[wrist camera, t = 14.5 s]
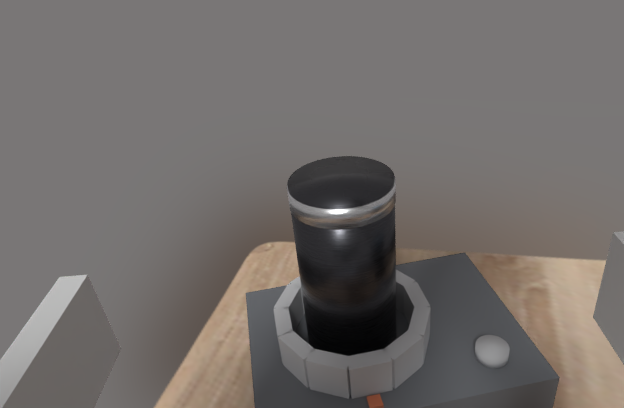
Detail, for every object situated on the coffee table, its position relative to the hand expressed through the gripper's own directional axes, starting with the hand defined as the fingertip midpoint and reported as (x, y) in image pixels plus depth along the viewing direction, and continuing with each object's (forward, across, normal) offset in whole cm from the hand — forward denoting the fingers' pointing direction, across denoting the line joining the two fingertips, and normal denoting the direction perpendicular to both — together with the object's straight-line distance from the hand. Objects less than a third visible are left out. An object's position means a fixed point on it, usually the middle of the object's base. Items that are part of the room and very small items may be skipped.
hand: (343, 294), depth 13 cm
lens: (+14, 0, -17) cm, 22 cm away
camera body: (+15, +1, -23) cm, 27 cm away
